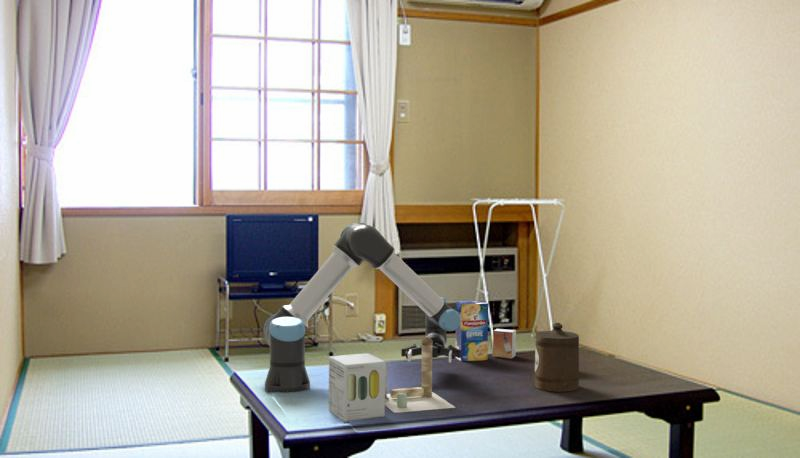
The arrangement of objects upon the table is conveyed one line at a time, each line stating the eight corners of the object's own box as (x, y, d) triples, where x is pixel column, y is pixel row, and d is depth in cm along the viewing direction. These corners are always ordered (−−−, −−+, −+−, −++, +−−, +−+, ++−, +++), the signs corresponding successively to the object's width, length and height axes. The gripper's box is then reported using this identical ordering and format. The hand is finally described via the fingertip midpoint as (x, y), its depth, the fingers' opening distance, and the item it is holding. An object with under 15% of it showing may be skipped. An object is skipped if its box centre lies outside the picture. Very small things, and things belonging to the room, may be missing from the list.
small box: (492, 357, 360) (492, 330, 359) (496, 354, 365) (496, 328, 364) (512, 358, 357) (512, 332, 356) (515, 356, 362) (516, 329, 361)
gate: (393, 400, 289) (393, 340, 288) (389, 398, 293) (389, 338, 291) (433, 397, 294) (434, 337, 292) (429, 394, 297) (430, 335, 296)
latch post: (398, 408, 280) (399, 395, 280) (395, 406, 283) (395, 393, 283) (408, 407, 281) (408, 394, 281) (405, 405, 284) (405, 392, 284)
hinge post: (377, 402, 287) (377, 364, 286) (373, 399, 291) (373, 361, 290) (390, 401, 289) (391, 363, 288) (386, 397, 293) (386, 360, 292)
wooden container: (546, 379, 322) (547, 317, 321) (585, 385, 314) (587, 322, 312) (526, 388, 310) (527, 323, 309) (566, 394, 302) (568, 328, 300)
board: (394, 415, 275) (394, 412, 275) (372, 397, 296) (372, 395, 296) (455, 410, 282) (455, 407, 282) (430, 392, 303) (430, 390, 303)
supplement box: (344, 424, 266) (344, 364, 265) (327, 412, 278) (327, 356, 277) (385, 419, 272) (385, 360, 270) (368, 408, 284) (368, 352, 282)
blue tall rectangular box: (487, 359, 354) (488, 303, 353) (460, 361, 351) (461, 304, 350) (481, 356, 361) (482, 300, 359) (455, 357, 358) (455, 301, 356)
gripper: (469, 356, 323) (467, 370, 302) (398, 354, 325) (391, 368, 304) (469, 335, 322) (467, 347, 301) (398, 334, 325) (391, 346, 304)
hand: (429, 358), depth 303 cm, fingers open, 13 cm apart
